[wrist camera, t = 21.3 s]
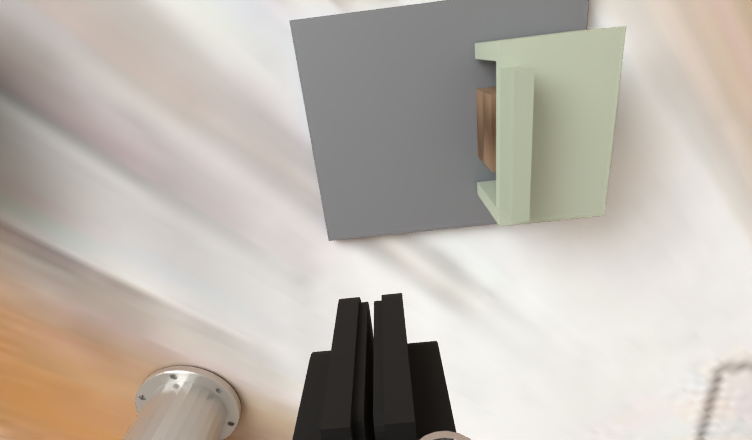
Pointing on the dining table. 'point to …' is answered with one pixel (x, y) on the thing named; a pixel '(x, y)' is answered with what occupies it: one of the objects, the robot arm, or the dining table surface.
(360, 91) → the board
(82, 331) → the dining table surface
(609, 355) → the dining table surface
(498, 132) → the cover
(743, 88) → the dining table surface
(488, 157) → the wooden crate
